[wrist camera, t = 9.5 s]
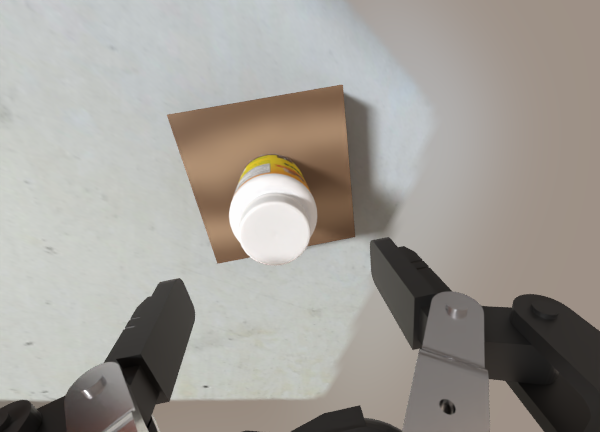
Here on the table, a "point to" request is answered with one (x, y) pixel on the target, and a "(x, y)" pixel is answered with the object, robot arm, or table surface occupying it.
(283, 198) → the supplement bottle
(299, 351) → the table surface
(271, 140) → the walnut plinth
